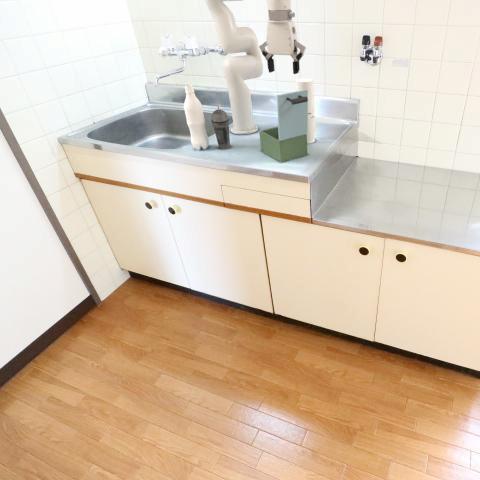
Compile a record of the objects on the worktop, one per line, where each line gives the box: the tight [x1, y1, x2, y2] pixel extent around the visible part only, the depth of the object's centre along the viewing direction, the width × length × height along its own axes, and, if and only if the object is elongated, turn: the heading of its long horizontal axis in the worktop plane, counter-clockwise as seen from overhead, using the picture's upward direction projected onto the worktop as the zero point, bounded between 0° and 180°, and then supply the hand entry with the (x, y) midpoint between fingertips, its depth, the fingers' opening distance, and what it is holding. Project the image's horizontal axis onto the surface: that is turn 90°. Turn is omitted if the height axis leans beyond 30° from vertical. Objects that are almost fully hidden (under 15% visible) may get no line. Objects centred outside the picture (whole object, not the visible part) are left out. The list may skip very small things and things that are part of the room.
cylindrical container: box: [295, 77, 316, 145], centre depth 156 cm, size 7×7×25 cm
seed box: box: [258, 126, 309, 163], centre depth 150 cm, size 16×13×8 cm
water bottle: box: [183, 84, 210, 151], centre depth 151 cm, size 7×7×25 cm
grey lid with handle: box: [276, 90, 308, 141], centre depth 136 cm, size 16×13×6 cm
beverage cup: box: [210, 98, 231, 150], centre depth 153 cm, size 7×7×20 cm
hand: (283, 72), depth 132 cm, fingers open, 9 cm apart
